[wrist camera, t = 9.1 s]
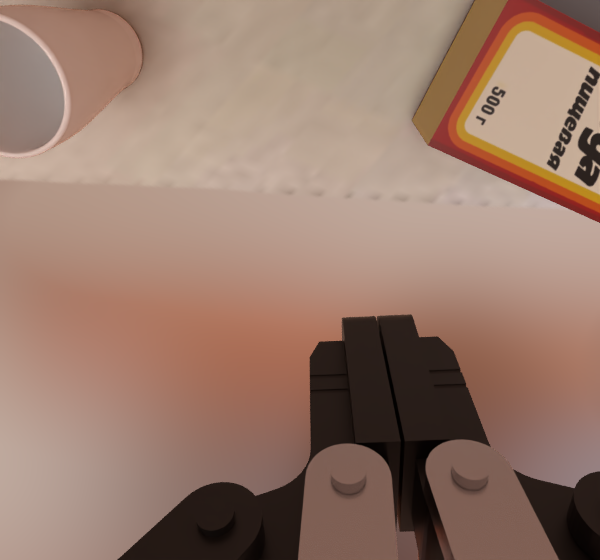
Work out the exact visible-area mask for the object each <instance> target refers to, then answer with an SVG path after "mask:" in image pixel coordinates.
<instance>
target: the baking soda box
mask: <svg viewBox="0 0 600 560" xmlns="http://www.w3.org/2000/svg"><path fill="white" fill-rule="evenodd" d="M412 122H413V123H414V125H415V126H416V128H417V129H418V131H419V132H420V134H421V135H422V137H423V139H424V140H425V142H426V143H427V145H429V146H431V147H433V148H435V149H437V150H440V151H442V152H444V153H446V154H448V155H451V156H453V157H455V158H457V159H460V160H462V161H464V162H466V163H468V164H471V165H473V166H475V167H477V168H479V169H482V170H484V171H486V172H488V173H491V174H493V175H495V176H497V177H499V178H502V179H504V180H506V181H508V182H511V183H513V184H515V185H517V186H519V187H522V188H524V189H526V190H528V191H530V192H533V193H535V194H537V195H539V196H542V197H544V198H546V199H548V200H550V201H553V202H555V203H557V204H559V205H561V206H564V207H566V208H568V209H570V210H573V211H575V212H577V213H579V214H581V215H584V216H586V217H588V218H590V219H593V220H595V221H597V222H599V223H600V33H599V32H597V31H595V30H594V29H592V28H590V27H588V26H586V25H584V24H582V23H580V22H578V21H576V20H575V19H573V18H571V17H569V16H567V15H565V14H563V13H561V12H559V11H557V10H556V9H554V8H552V7H550V6H548V5H546V4H544V3H542V2H540V1H538V0H475V1H474V3H473V5H472V7H471V9H470V11H469V13H468V15H467V17H466V19H465V20H464V22H463V24H462V26H461V28H460V30H459V32H458V34H457V36H456V38H455V40H454V41H453V43H452V45H451V47H450V49H449V51H448V53H447V55H446V57H445V59H444V60H443V62H442V64H441V66H440V68H439V70H438V72H437V74H436V76H435V78H434V80H433V81H432V83H431V85H430V87H429V89H428V91H427V93H426V95H425V97H424V99H423V100H422V102H421V104H420V106H419V108H418V110H417V112H416V114H415V116H414V118H413V120H412Z"/></svg>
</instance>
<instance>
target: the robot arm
mask: <svg viewBox="0 0 600 560" xmlns="http://www.w3.org/2000/svg"><path fill="white" fill-rule="evenodd" d="M310 420H311V421H310V423H311V453H310V458H309V461H308V463H307V465H306V467H305V468H304V470H303V471H302V473H301V474H300V475H299V476H298V477H297V478H295V479H294V480H293V481H291V482H290V483H288V484H287V485H285V486H283V487H280V488H278V489H275V490H272V491H269V492H267V493H263V494H260V495H257V496H255V495H254V494H253V493H252V492H250V491H249V490H248V489H246V488H245V487H243V486H241V485H238V484H234V483H229V482H220V483H213V484H209V485H206V486H203V487H201V488H199V489H197V490H195V491H194V492H192V493H191V494H190V495H188V496H187V497H186V498H185V499H184V500H183V501H181V503H179V504H178V505H177V506H176V507H175V508H174V509H173V510H172V511H171V512H169V513H168V514H167V515H166V516H165V517H164V518H163V519H162V520H161V521H160V522H158V523H157V524H156V525H155V526H154V527H153V528H152V529H151V530H150V531H149V532H147V533H146V534H145V535H144V536H143V537H142V538H141V539H140V540H139V541H138V542H137V543H135V544H134V545H133V546H132V547H131V548H130V549H129V550H128V551H127V552H126V553H124V555H122V556H121V557H120V558H119V559H118V560H398V554H397V553H398V552H397V540H396V524H397V518H398V523H399V529H400V531H414V532H415V538H416V543H417V547H418V559H417V560H600V472H595V473H590V474H588V475H586V476H584V477H583V478H581V479H580V480H579V482H578V483H577V484H576V487H575V488H571V487H566V486H562V485H558V484H553V483H549V482H545V481H541V480H537V479H533V478H530V477H528V476H525V475H523V474H521V473H519V472H517V471H515V470H514V469H512V467H511V465H510V464H509V462H508V461H507V460H506V459H505V457H503V456H502V455H501V454H500V453H499V452H498V451H496V450H494V449H493V448H491V446H490V444H489V442H488V440H487V437H486V434H485V432H484V429H483V427H482V424H481V421H480V419H479V416H478V414H477V411H476V408H475V406H474V403H473V401H472V398H471V395H470V393H469V390H468V388H467V387H466V383H465V380H464V377H463V375H462V373H461V372H460V367H459V364H458V362H457V359H456V357H455V354H454V352H453V350H451V349H450V348H449V347H448V346H447V345H446V344H445V343H444V342H443V341H442V340H441V339H440V338H439V337H419V336H418V333H417V329H416V326H415V323H414V320H413V317H412V315H389V316H378V317H377V321H376V317H375V316H370V317H347V318H342V341H328V342H319V343H318V345H317V346H316V348H315V350H314V351H313V353H312V355H311V356H310Z"/></svg>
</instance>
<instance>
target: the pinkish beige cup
mask: <svg viewBox="0 0 600 560" xmlns="http://www.w3.org/2000/svg"><path fill="white" fill-rule="evenodd" d="M141 66H142V48H141V44H140V41H139V39H138V37H137V35H136V33H135V31H134V30H133V28H132V27H131V26H130V25H129V24H128V23H127V22H126V21H125V20H124V19H123V18H121V17H120V16H118V15H117V14H115V13H113V12H110V11H107V10H102V9H90V10H80V9H68V8H58V7H48V6H37V5H5V6H0V156H4V157H10V158H26V157H32V156H36V155H39V154H41V153H44V152H46V151H47V150H49V149H51V148H53V147H55V146H57V145H59V144H61V143H63V142H64V141H66V140H68V139H69V138H71V137H72V136H74V135H75V134H76V133H78V132H79V131H81V130H82V129H83V128H84V127H85V126H87V125H88V124H89V123H90V122H91V121H92V120H93V119H94V118H95V117H96V116H97V115H98V114H99V113H100V112H101V111H102V110H103V109H104V108H105V107H106V106H107V105H108V104H109V103H110V102H111V101H112V100H113V99H114V98H115V97H116V96H117V95H118V94H119V93H120V92H121V91H122V90H123V89H125V88H127V87H128V86H129V85H131V84H132V83H133V82H134V81H135V79H136V78H137V76H138V74H139V72H140V70H141Z"/></svg>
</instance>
